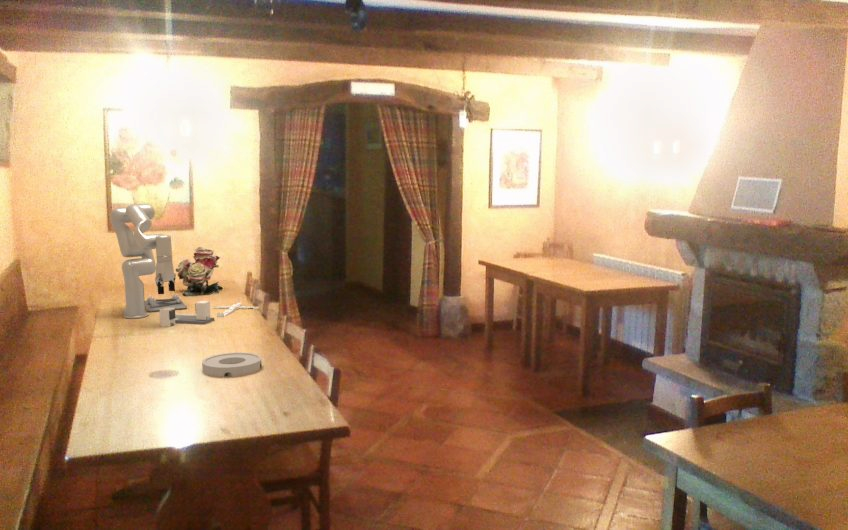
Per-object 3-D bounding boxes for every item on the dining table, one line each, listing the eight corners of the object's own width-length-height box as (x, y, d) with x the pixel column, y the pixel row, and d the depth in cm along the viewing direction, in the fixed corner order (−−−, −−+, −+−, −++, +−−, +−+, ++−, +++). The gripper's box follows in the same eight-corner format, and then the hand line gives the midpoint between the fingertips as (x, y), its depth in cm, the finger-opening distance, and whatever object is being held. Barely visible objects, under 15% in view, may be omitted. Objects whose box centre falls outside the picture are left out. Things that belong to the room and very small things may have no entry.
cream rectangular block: (160, 326, 369) (159, 309, 368) (166, 324, 375) (165, 307, 374) (170, 326, 368) (169, 310, 367) (176, 324, 374) (175, 307, 372)
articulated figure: (196, 312, 392) (217, 300, 422) (196, 319, 393) (217, 306, 422) (244, 313, 390) (262, 300, 419) (245, 320, 390) (262, 307, 420)
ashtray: (238, 358, 308) (238, 349, 307) (273, 368, 293) (273, 358, 292) (190, 370, 290) (190, 360, 289) (225, 381, 275) (224, 370, 275)
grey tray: (187, 310, 414) (186, 297, 413) (147, 313, 405) (146, 301, 404) (180, 301, 441) (179, 290, 440) (142, 304, 432) (142, 292, 431)
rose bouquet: (177, 291, 475) (174, 245, 471) (222, 288, 484) (221, 244, 480) (176, 297, 451) (173, 250, 447) (224, 295, 460) (222, 248, 456)
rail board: (161, 322, 379) (160, 302, 378) (172, 318, 389) (171, 298, 387) (204, 324, 374) (203, 304, 372) (214, 320, 383) (213, 300, 382)
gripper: (167, 257, 376) (169, 289, 378) (147, 261, 359) (150, 295, 361) (180, 257, 374) (182, 290, 377) (161, 261, 358) (163, 295, 360)
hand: (166, 292), depth 369 cm, fingers open, 9 cm apart
